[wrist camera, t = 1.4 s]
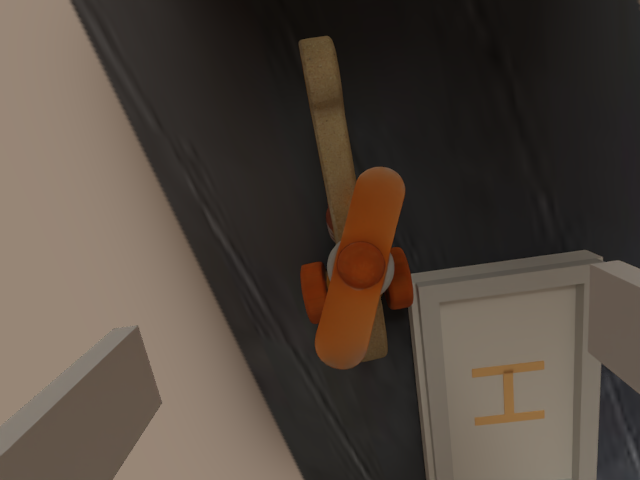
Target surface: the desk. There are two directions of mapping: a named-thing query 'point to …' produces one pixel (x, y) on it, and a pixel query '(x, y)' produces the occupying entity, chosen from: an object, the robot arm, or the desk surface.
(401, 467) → the desk surface
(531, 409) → the plate
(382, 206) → the toy helicopter
